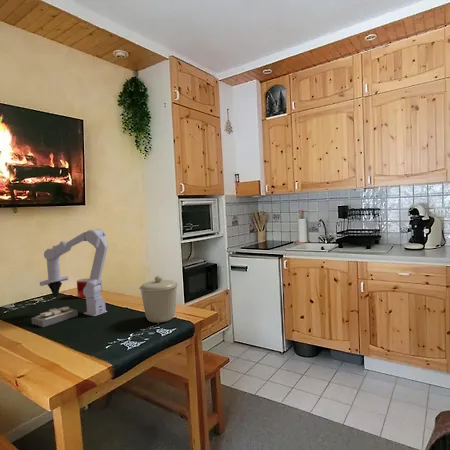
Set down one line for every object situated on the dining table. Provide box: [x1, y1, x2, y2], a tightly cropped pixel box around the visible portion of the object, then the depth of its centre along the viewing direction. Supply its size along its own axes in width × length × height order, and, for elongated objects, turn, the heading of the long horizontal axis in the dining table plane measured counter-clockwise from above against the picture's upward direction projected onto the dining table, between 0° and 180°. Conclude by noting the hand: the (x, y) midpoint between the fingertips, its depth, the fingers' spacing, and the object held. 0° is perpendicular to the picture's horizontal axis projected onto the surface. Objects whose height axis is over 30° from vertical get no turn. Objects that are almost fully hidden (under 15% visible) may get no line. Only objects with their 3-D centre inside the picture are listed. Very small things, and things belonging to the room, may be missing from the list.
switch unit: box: [31, 307, 79, 328], centre depth 167 cm, size 10×18×3 cm, turn 147°
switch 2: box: [48, 307, 61, 315], centre depth 167 cm, size 5×3×1 cm, turn 57°
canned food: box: [76, 278, 89, 300], centre depth 210 cm, size 8×8×11 cm
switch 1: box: [39, 311, 52, 316], centre depth 163 cm, size 5×3×1 cm, turn 57°
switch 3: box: [57, 306, 70, 311], centre depth 171 cm, size 5×3×1 cm, turn 57°
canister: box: [139, 275, 179, 324], centre depth 160 cm, size 18×18×21 cm
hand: (55, 296), depth 177 cm, fingers closed
